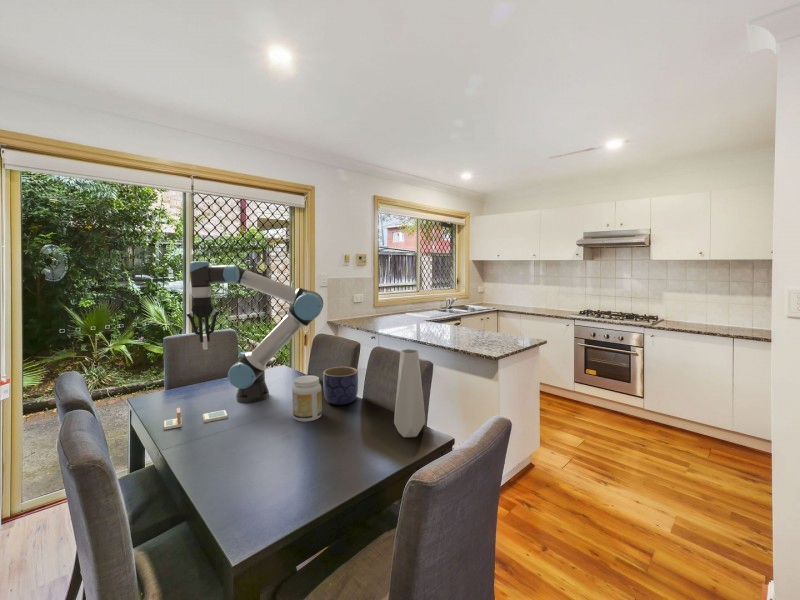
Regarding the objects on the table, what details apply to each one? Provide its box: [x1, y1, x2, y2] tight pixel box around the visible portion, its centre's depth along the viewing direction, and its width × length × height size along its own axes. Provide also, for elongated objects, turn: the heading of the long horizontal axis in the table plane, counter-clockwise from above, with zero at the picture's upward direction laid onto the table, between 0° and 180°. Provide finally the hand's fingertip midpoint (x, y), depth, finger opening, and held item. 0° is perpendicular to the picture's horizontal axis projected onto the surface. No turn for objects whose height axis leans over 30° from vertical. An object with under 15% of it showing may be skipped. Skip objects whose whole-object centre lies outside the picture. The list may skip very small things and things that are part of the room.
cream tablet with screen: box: [202, 409, 228, 423], centre depth 161 cm, size 9×7×1 cm
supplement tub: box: [291, 375, 323, 423], centre depth 162 cm, size 12×12×17 cm
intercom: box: [163, 407, 183, 431], centre depth 153 cm, size 6×7×6 cm
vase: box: [393, 348, 426, 438], centre depth 145 cm, size 12×12×33 cm
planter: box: [322, 366, 359, 406], centre depth 180 cm, size 16×17×15 cm
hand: (205, 349), depth 167 cm, fingers closed
